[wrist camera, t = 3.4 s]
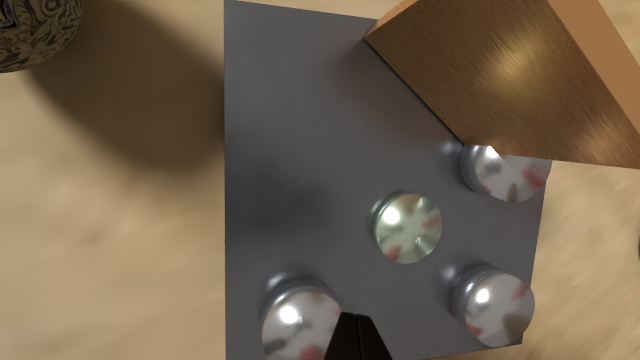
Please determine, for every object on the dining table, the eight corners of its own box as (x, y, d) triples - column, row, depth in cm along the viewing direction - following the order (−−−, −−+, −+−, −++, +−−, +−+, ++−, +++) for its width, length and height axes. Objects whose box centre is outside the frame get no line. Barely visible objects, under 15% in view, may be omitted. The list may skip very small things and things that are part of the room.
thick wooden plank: (534, 153, 20) (756, 174, 12) (491, 208, 20) (683, 272, 11) (398, -5, 16) (576, -147, 8) (343, 62, 16) (464, -10, 8)
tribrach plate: (504, 330, 24) (547, 363, 21) (226, 370, 19) (224, 422, 16) (544, 50, 21) (602, 36, 18) (224, 10, 16) (221, -21, 13)
